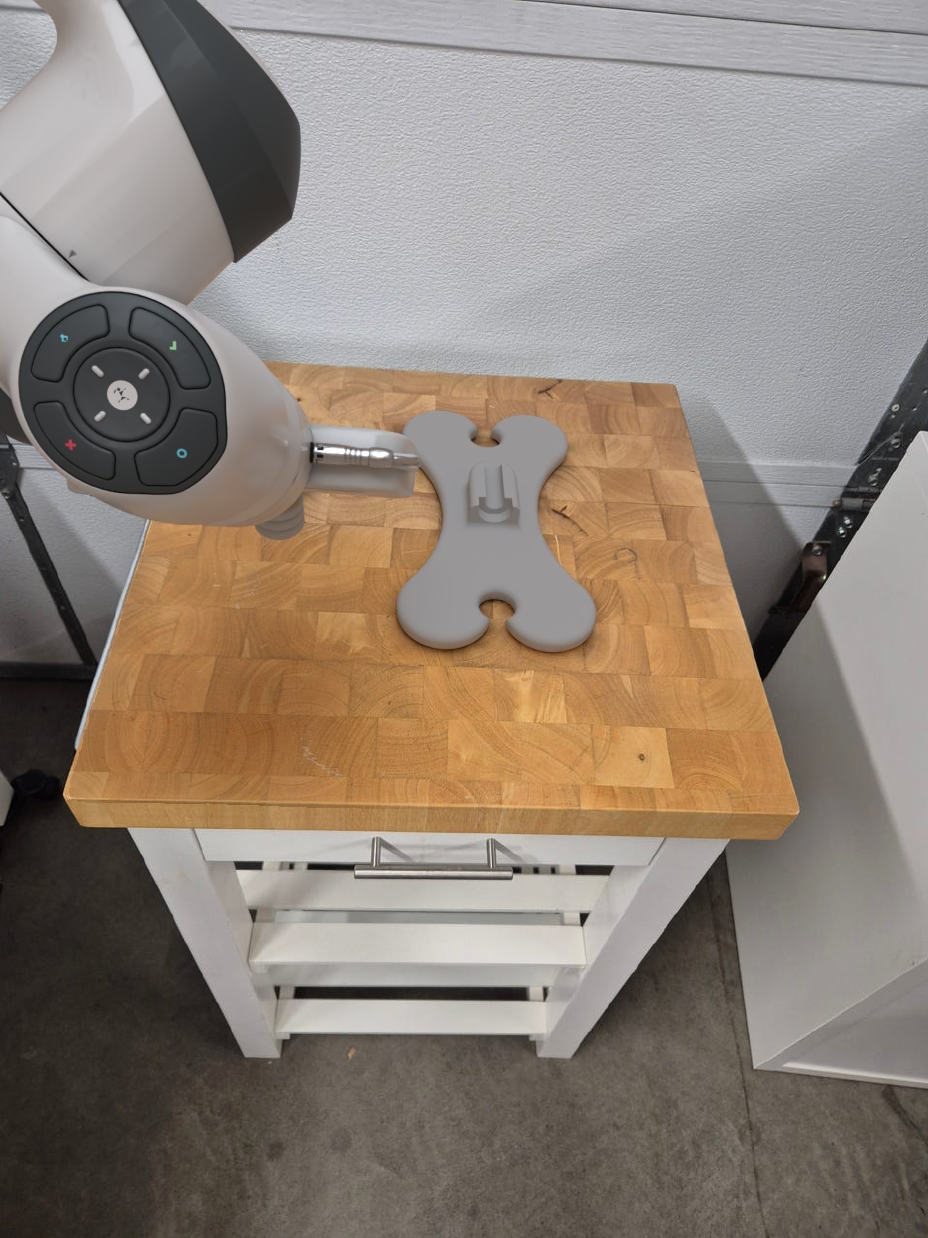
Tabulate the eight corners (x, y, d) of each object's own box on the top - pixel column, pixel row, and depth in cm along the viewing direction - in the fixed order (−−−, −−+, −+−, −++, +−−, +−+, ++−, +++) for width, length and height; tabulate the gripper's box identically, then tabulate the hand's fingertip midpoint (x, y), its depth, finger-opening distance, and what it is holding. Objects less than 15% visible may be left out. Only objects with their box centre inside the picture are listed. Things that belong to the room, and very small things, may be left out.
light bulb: (242, 497, 63) (223, 388, 56) (325, 499, 64) (318, 392, 56) (231, 557, 59) (210, 448, 52) (320, 559, 60) (312, 452, 52)
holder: (561, 427, 98) (569, 392, 94) (599, 656, 76) (611, 623, 72) (402, 419, 96) (403, 383, 92) (395, 651, 75) (395, 616, 71)
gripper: (424, 401, 44) (423, 433, 58) (38, 370, 43) (131, 410, 57) (416, 517, 45) (417, 522, 59) (36, 490, 44) (128, 501, 58)
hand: (274, 466), depth 58 cm, fingers closed on light bulb, 6 cm apart
